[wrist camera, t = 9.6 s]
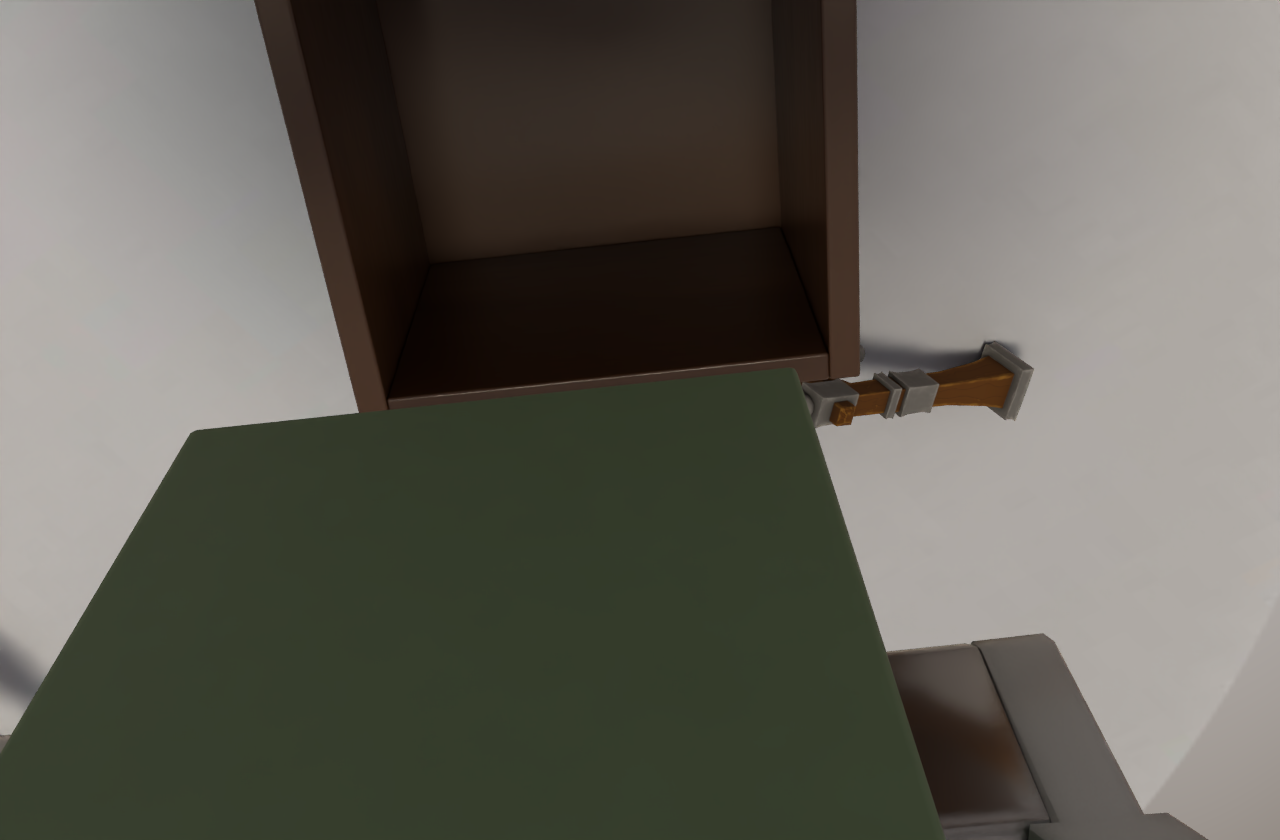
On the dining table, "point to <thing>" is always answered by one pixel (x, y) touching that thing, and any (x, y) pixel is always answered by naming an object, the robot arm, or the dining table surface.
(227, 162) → the dining table surface
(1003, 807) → the robot arm
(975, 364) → the wooden post with brackets
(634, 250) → the chest
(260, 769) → the block
